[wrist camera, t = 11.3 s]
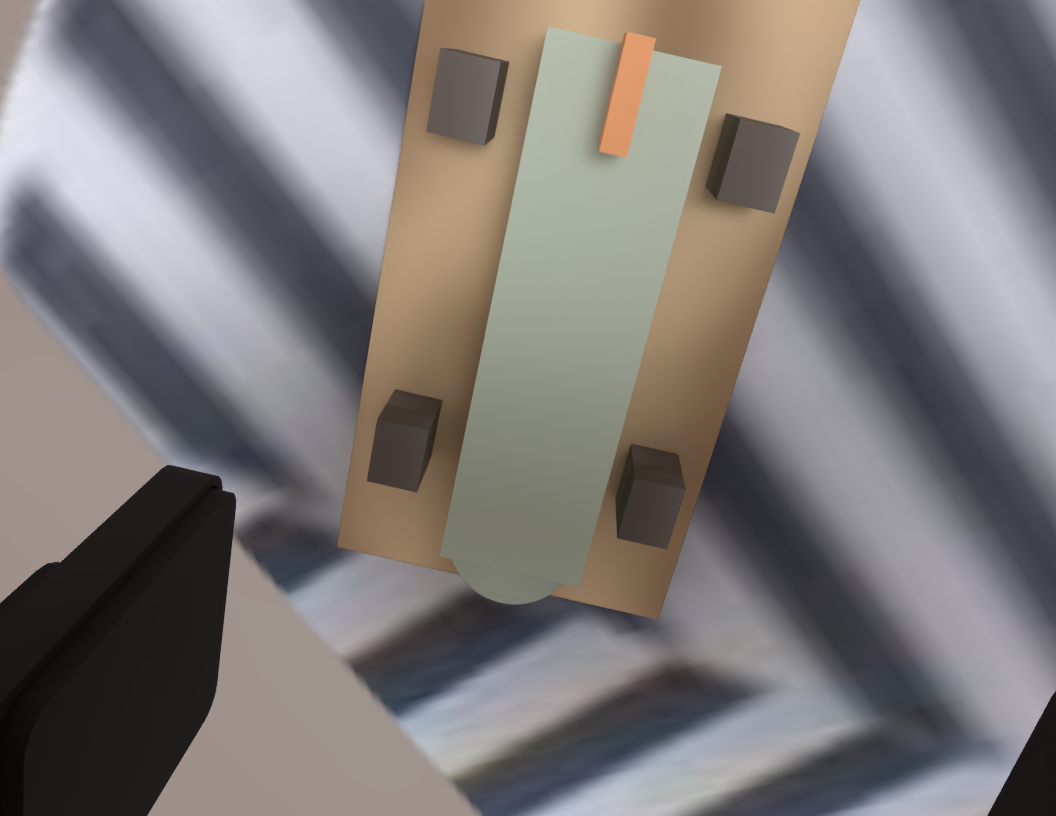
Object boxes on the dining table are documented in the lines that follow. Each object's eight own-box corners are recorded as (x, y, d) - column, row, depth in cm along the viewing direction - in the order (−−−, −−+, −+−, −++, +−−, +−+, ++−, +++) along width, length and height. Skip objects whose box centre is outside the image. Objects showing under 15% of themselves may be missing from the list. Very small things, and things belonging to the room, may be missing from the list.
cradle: (857, -23, 24) (900, -36, 21) (655, 602, 31) (663, 666, 28) (451, -121, 24) (428, -149, 20) (344, 532, 31) (315, 587, 28)
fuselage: (704, 56, 24) (737, 56, 18) (566, 571, 30) (560, 689, 24) (556, 22, 24) (545, 12, 18) (448, 545, 30) (415, 657, 24)
